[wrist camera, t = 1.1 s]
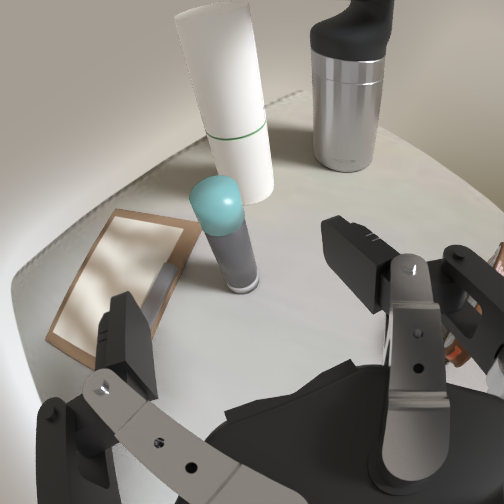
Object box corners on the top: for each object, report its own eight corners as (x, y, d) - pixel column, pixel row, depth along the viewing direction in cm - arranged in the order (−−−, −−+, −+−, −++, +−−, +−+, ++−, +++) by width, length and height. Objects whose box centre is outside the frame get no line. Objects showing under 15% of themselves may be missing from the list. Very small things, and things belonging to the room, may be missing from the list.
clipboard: (118, 211, 43) (113, 204, 42) (203, 226, 39) (199, 217, 38) (48, 341, 33) (40, 337, 31) (131, 389, 29) (123, 387, 27)
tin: (445, 376, 25) (486, 355, 18) (425, 359, 26) (462, 334, 19) (496, 279, 29) (529, 241, 22) (479, 265, 31) (509, 224, 24)
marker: (233, 262, 36) (201, 173, 24) (264, 268, 35) (245, 178, 23) (221, 290, 34) (181, 208, 22) (254, 298, 33) (228, 215, 21)
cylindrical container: (272, 166, 44) (248, -2, 23) (275, 202, 40) (248, 9, 19) (224, 171, 44) (181, 10, 24) (221, 207, 41) (165, 25, 20)
